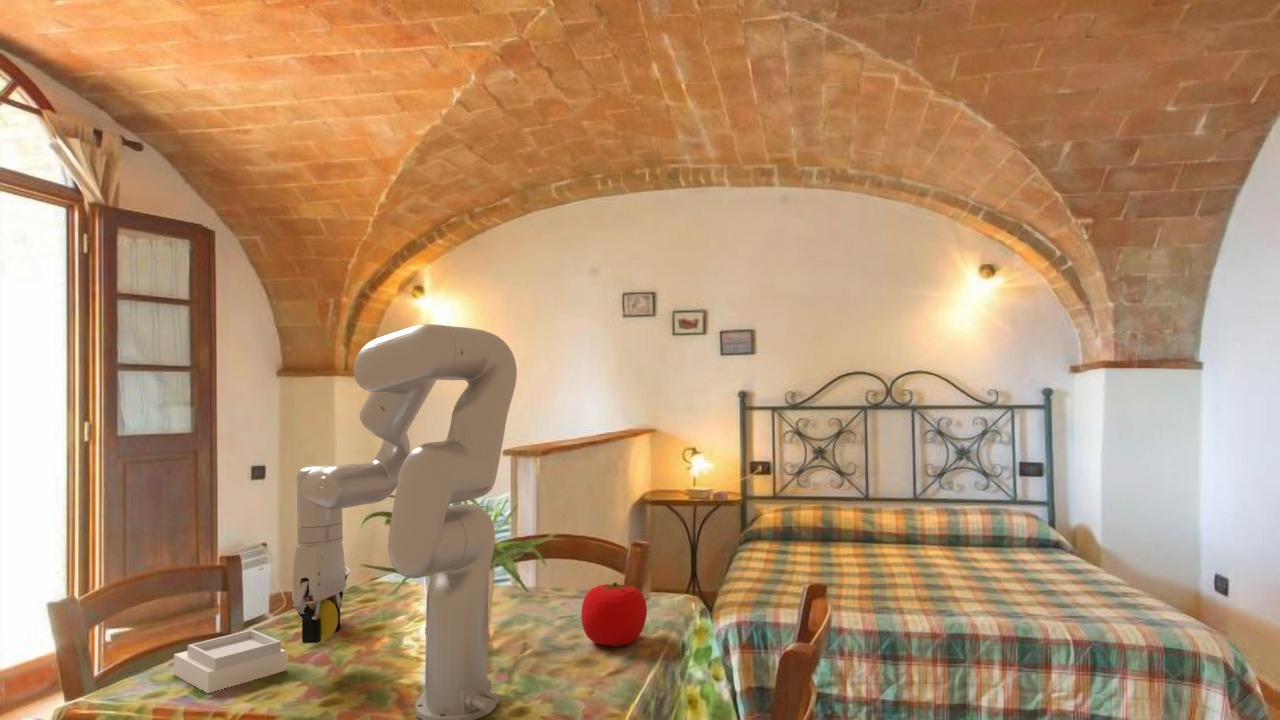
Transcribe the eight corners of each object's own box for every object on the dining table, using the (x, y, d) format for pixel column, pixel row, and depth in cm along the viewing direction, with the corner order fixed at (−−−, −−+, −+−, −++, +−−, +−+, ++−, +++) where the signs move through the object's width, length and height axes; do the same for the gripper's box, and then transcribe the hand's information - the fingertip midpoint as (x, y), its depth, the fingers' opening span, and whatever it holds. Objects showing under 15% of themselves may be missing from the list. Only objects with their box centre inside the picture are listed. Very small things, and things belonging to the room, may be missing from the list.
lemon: (326, 647, 128) (325, 601, 129) (298, 647, 129) (297, 600, 130) (344, 638, 134) (344, 593, 134) (317, 637, 135) (317, 593, 135)
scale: (285, 670, 132) (286, 639, 132) (207, 693, 121) (208, 660, 122) (249, 653, 140) (249, 624, 140) (173, 674, 130) (174, 643, 130)
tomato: (571, 651, 142) (572, 589, 142) (593, 629, 155) (593, 573, 155) (636, 656, 138) (636, 594, 139) (652, 633, 152) (652, 576, 152)
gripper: (327, 527, 142) (328, 623, 141) (271, 543, 125) (272, 652, 124) (363, 526, 141) (365, 622, 140) (312, 542, 124) (314, 652, 123)
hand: (321, 635), depth 132 cm, fingers closed on lemon, 5 cm apart
